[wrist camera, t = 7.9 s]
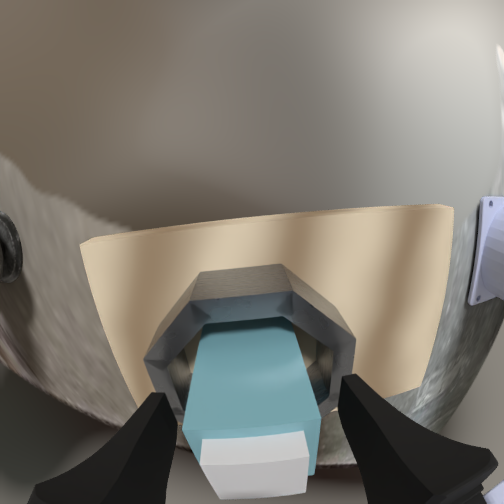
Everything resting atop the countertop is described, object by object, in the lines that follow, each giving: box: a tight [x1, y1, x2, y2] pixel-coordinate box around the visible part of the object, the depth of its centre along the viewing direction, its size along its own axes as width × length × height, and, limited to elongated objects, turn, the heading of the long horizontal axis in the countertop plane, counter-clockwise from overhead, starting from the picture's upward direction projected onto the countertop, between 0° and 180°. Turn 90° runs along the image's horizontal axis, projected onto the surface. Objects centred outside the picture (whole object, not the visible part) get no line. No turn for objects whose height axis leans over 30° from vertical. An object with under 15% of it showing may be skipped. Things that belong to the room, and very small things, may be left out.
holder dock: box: [80, 204, 454, 425], centre depth 13 cm, size 20×13×4 cm, turn 96°
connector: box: [182, 316, 321, 500], centre depth 10 cm, size 4×4×8 cm
